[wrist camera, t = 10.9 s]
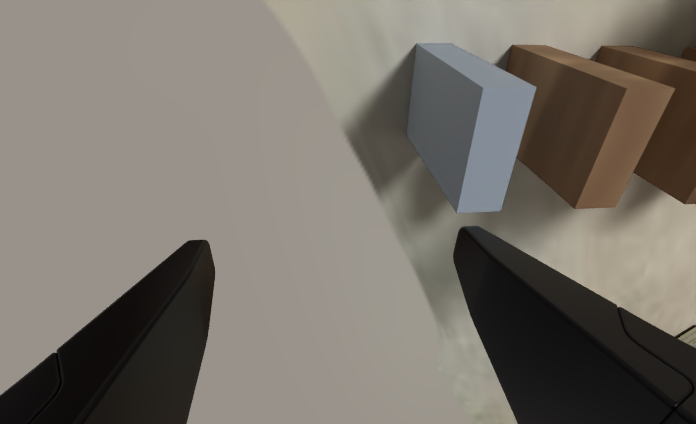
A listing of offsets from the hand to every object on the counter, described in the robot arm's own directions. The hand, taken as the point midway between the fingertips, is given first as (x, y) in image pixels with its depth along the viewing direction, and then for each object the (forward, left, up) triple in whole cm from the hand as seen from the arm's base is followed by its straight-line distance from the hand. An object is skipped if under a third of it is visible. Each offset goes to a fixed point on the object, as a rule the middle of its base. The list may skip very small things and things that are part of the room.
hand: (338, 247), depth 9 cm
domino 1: (-6, 0, -13) cm, 14 cm away
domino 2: (-11, 0, -13) cm, 17 cm away
